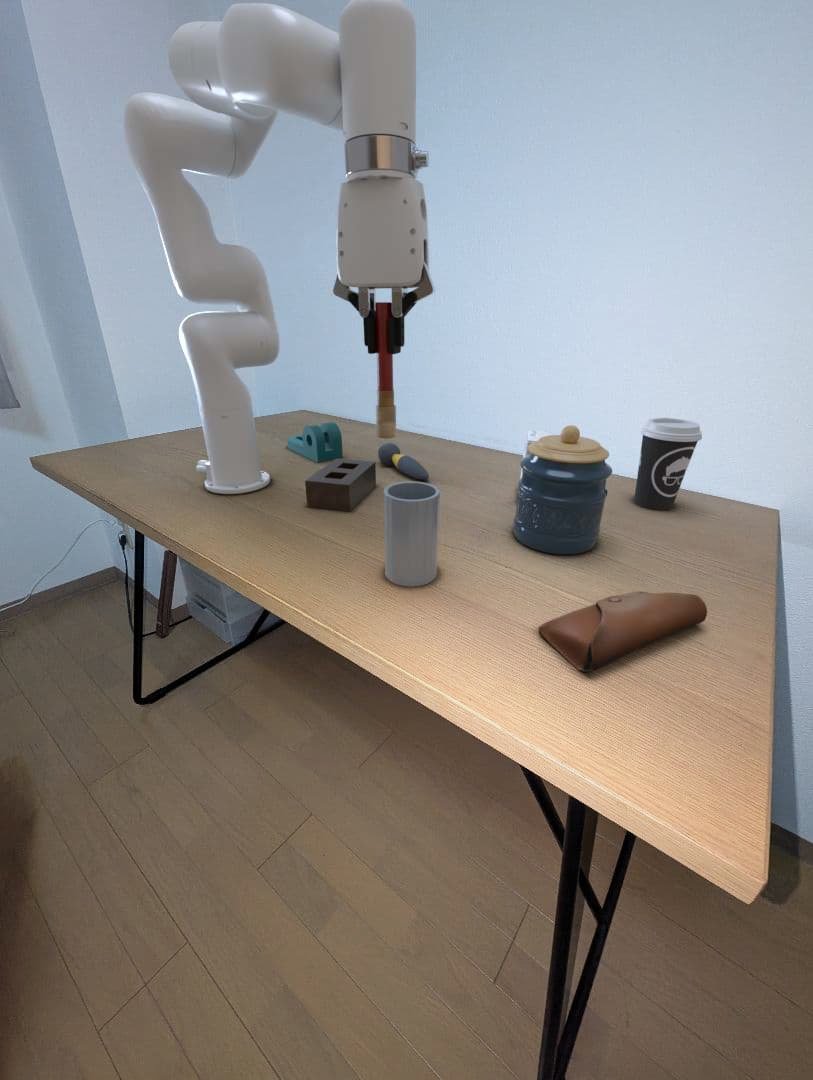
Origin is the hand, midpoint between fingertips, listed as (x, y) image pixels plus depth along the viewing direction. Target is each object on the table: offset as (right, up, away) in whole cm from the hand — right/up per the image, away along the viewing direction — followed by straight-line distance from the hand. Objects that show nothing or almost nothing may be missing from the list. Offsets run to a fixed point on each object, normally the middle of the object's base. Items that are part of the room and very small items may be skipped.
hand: (384, 351), depth 58 cm
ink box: (+27, -15, +32) cm, 44 cm away
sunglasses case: (+27, -34, -5) cm, 43 cm away
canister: (+26, -23, +16) cm, 39 cm away
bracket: (-21, -1, +59) cm, 63 cm away
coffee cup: (+49, -17, +30) cm, 59 cm away
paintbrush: (+2, -8, +46) cm, 47 cm away
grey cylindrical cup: (+3, -28, +6) cm, 29 cm away
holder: (-9, -15, +32) cm, 37 cm away
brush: (0, -9, +5) cm, 11 cm away
